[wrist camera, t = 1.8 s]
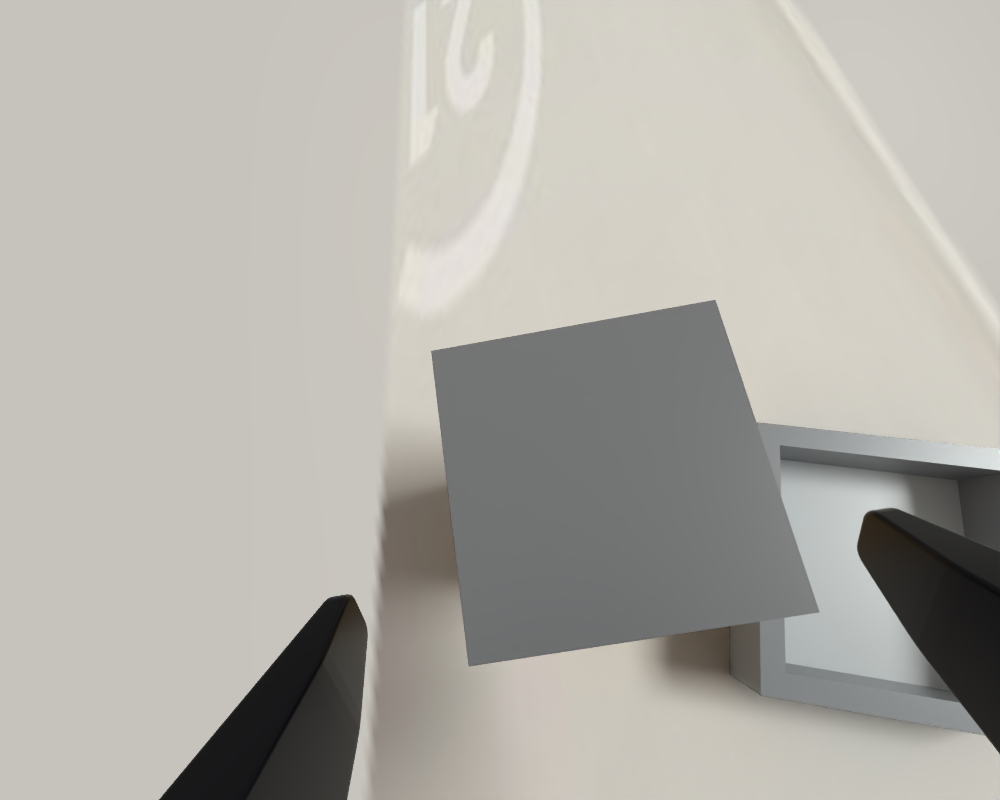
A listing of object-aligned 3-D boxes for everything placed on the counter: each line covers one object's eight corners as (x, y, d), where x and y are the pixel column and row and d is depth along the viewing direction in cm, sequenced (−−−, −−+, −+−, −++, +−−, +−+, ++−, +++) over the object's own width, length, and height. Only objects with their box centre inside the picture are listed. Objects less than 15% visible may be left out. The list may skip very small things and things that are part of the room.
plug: (637, 570, 17) (819, 612, 6) (518, 589, 17) (469, 665, 6) (610, 452, 19) (715, 299, 7) (500, 471, 19) (431, 351, 7)
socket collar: (1002, 722, 15) (1085, 753, 13) (730, 674, 16) (761, 695, 14) (967, 465, 17) (1031, 452, 15) (731, 438, 18) (757, 422, 16)
